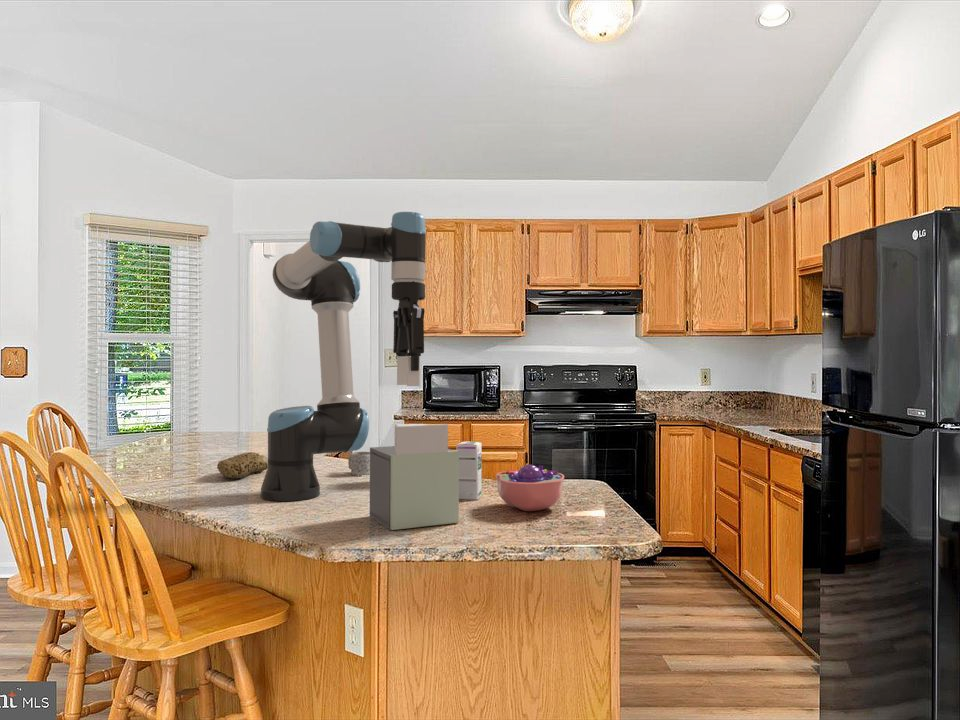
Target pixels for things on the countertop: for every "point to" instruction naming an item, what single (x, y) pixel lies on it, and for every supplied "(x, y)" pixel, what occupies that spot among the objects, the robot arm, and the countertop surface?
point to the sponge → (242, 465)
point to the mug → (359, 463)
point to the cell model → (530, 487)
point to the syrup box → (470, 470)
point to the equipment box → (381, 483)
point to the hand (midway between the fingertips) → (408, 385)
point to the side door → (423, 478)
